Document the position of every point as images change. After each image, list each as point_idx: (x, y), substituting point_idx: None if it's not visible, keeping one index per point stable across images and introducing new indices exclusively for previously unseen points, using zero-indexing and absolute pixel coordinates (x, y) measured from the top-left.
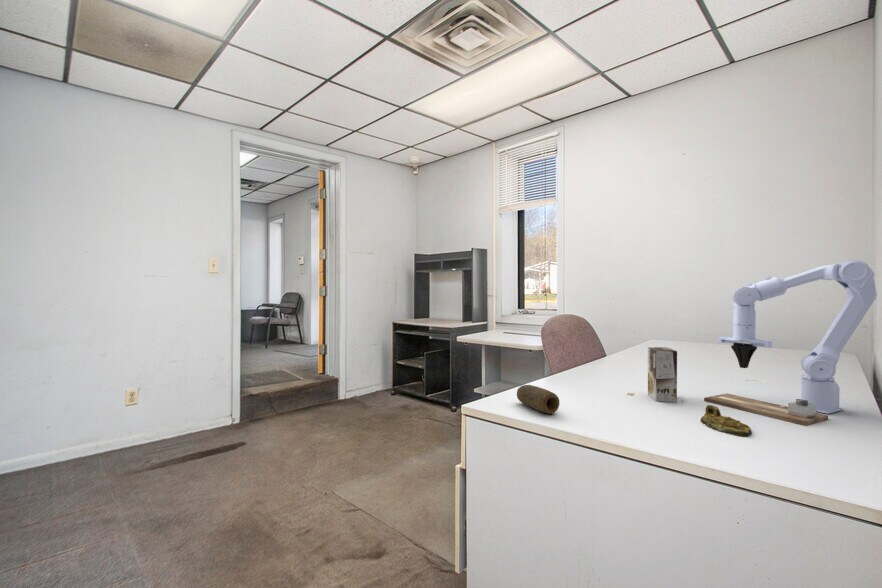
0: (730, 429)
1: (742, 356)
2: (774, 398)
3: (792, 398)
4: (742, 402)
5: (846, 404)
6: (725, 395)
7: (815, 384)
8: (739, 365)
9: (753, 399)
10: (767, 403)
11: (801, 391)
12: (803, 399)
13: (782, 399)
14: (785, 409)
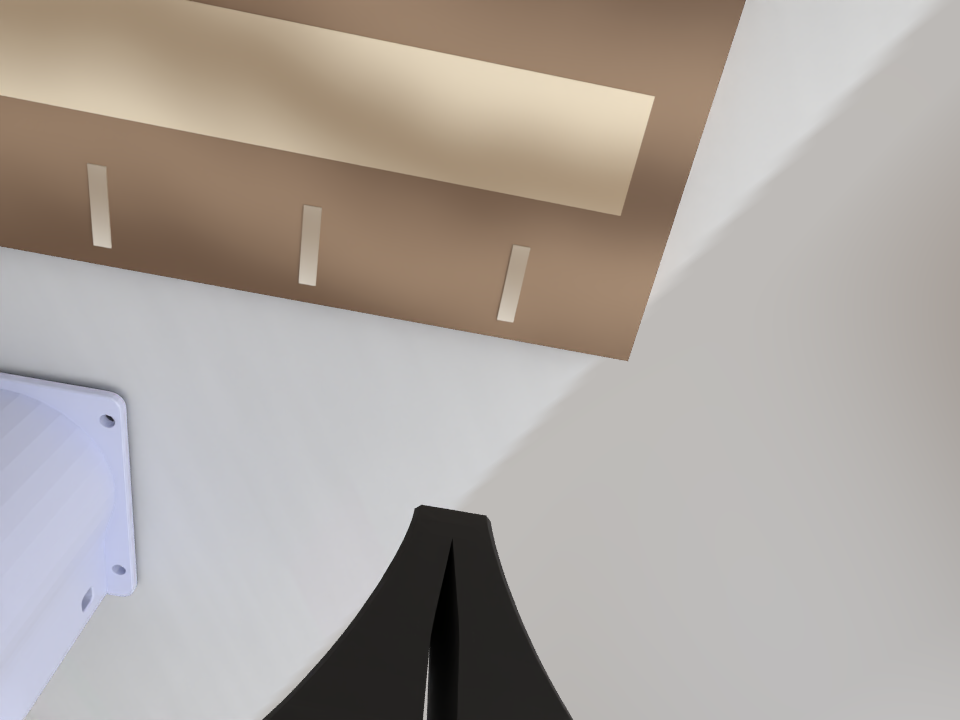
0: None
1: (405, 652)
2: (341, 558)
3: (271, 638)
4: (381, 57)
5: None
6: (612, 256)
7: None
8: (489, 533)
9: (372, 302)
10: (228, 240)
11: (20, 521)
12: (29, 452)
13: (295, 568)
14: (19, 119)
